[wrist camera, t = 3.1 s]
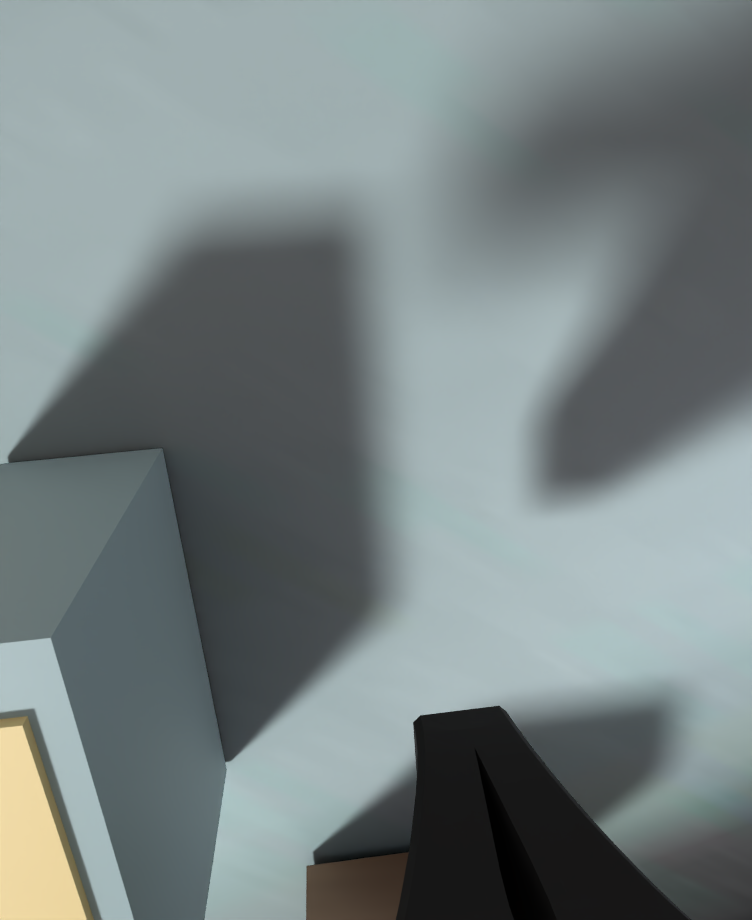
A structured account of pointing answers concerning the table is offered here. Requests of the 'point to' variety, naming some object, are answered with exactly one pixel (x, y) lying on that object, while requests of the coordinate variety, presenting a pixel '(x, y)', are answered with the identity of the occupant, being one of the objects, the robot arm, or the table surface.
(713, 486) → the table surface
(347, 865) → the walnut bookend
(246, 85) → the table surface
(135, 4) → the table surface
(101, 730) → the blue-grey box
